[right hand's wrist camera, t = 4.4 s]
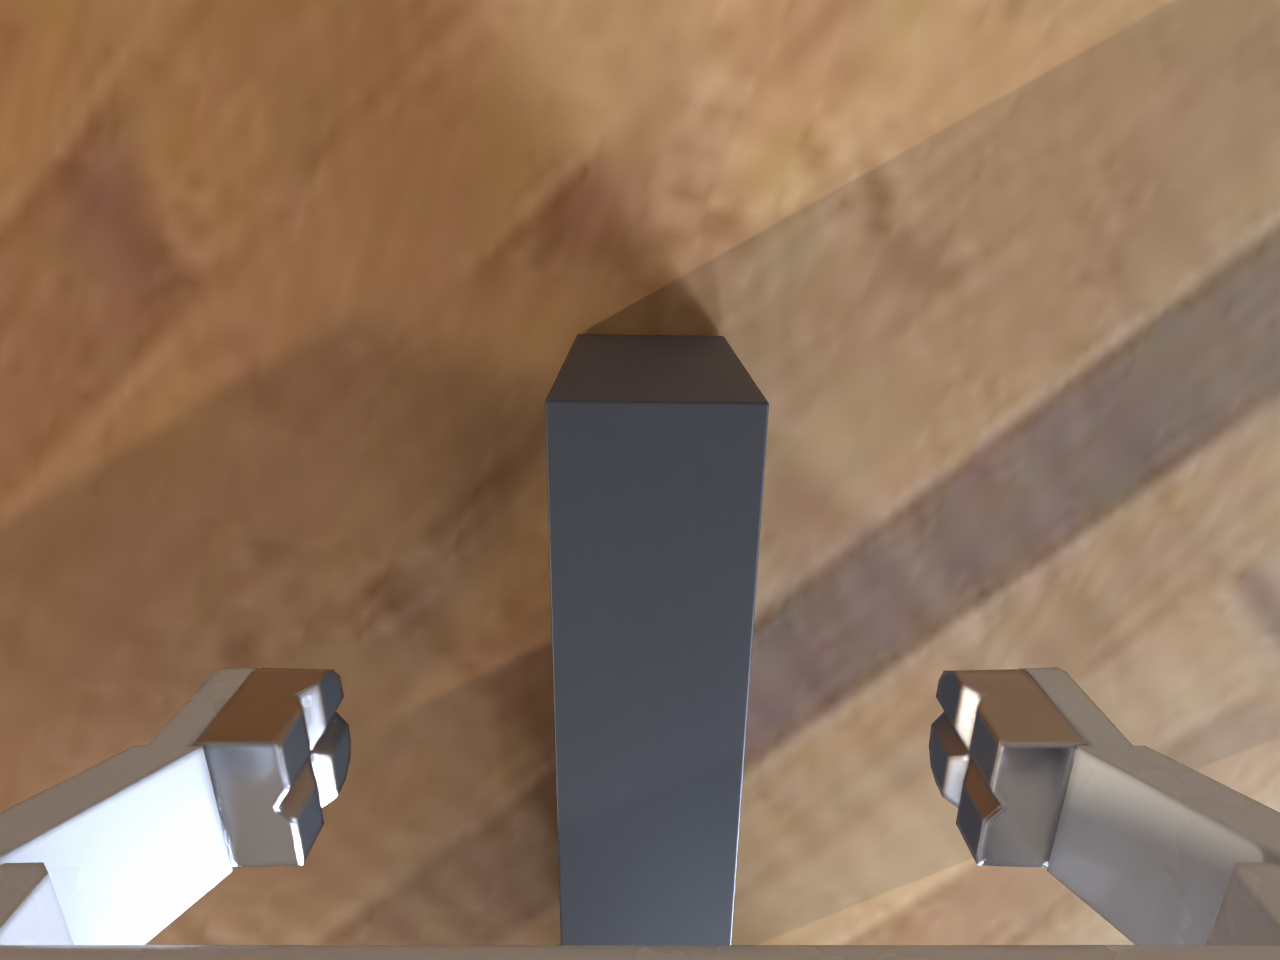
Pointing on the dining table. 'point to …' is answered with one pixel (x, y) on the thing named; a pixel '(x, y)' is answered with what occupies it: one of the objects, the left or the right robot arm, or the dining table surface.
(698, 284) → the dining table surface
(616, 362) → the bar
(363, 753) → the dining table surface
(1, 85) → the dining table surface
